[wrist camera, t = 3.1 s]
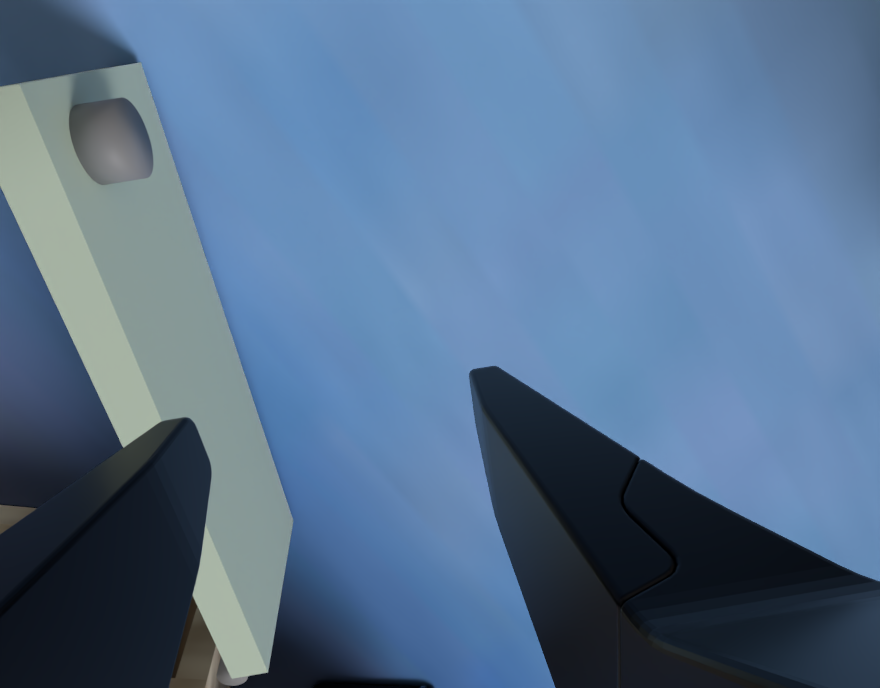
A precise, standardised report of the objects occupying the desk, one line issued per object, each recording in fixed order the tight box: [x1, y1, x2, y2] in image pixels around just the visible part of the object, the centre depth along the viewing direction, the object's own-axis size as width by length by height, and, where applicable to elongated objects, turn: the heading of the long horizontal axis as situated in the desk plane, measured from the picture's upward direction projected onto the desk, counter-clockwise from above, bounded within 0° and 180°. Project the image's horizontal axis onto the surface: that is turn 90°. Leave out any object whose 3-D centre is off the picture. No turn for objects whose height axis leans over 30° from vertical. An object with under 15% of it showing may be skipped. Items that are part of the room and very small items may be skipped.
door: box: [0, 62, 293, 686], centre depth 19 cm, size 18×3×7 cm, turn 8°
